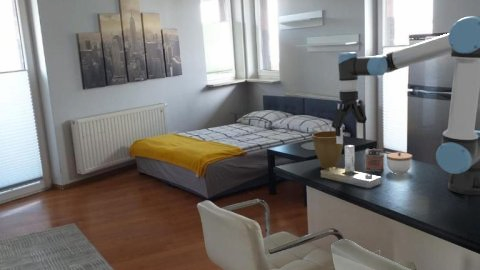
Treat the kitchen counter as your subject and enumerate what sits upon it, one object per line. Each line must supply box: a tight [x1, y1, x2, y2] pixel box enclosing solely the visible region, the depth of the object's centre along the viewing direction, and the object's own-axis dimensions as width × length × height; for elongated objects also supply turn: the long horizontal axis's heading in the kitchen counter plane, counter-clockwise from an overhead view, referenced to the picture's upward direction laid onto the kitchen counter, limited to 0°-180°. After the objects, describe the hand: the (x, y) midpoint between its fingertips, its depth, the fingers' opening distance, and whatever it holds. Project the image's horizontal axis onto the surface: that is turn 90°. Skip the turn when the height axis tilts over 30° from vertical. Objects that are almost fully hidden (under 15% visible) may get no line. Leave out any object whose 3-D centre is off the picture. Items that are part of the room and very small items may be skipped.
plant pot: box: [311, 130, 345, 169], centre depth 228 cm, size 15×15×16 cm
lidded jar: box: [386, 151, 413, 175], centre depth 213 cm, size 11×11×9 cm
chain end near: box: [338, 172, 382, 189], centre depth 202 cm, size 16×8×4 cm, turn 39°
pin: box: [344, 144, 356, 176], centre depth 205 cm, size 4×4×15 cm
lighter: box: [365, 148, 385, 172], centre depth 218 cm, size 8×3×10 cm, turn 62°
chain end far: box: [320, 166, 362, 182], centre depth 210 cm, size 16×8×4 cm, turn 39°
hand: (350, 140), depth 203 cm, fingers open, 13 cm apart
